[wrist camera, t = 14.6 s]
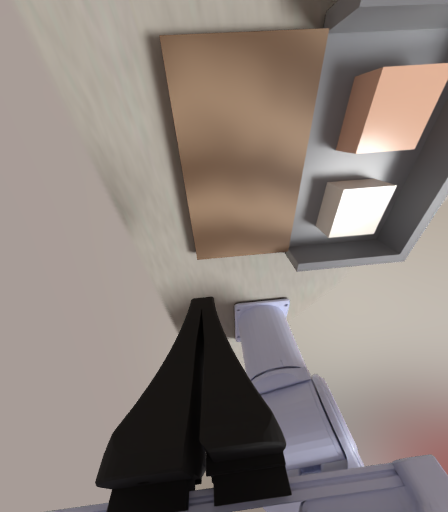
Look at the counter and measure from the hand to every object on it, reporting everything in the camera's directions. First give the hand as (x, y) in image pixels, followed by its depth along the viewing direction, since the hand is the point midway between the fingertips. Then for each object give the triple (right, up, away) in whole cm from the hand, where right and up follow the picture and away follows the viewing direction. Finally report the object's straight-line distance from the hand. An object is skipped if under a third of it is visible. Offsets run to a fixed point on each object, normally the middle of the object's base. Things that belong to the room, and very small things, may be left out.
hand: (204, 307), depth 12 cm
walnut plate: (+3, +11, +4) cm, 12 cm away
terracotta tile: (+13, +14, +2) cm, 19 cm away
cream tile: (+13, +9, +6) cm, 17 cm away
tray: (+13, +12, +5) cm, 18 cm away
